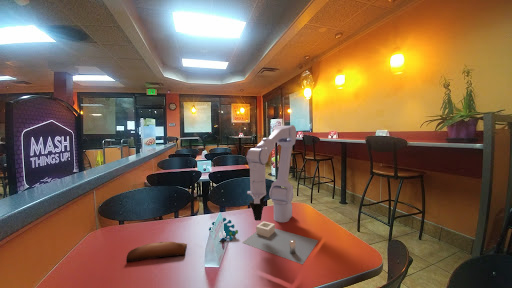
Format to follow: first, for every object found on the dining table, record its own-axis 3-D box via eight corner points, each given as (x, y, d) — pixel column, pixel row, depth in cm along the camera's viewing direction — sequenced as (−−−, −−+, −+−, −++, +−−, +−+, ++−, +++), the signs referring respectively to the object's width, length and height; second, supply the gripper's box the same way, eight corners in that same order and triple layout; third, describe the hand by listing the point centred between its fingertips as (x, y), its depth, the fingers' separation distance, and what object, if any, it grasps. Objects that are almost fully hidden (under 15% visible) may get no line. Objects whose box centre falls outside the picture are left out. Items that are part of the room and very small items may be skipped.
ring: (263, 228, 85) (263, 221, 85) (274, 231, 82) (274, 224, 82) (256, 233, 81) (256, 226, 81) (268, 237, 78) (268, 229, 78)
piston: (290, 250, 69) (290, 238, 69) (296, 252, 68) (296, 240, 68) (288, 253, 67) (288, 241, 67) (294, 255, 66) (294, 243, 66)
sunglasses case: (188, 242, 76) (186, 232, 73) (186, 262, 71) (184, 251, 67) (136, 248, 73) (131, 237, 69) (129, 269, 67) (124, 258, 64)
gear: (204, 241, 74) (212, 215, 81) (207, 246, 78) (214, 220, 85) (235, 246, 73) (240, 219, 80) (235, 251, 78) (240, 224, 84)
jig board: (264, 227, 88) (264, 225, 88) (318, 243, 75) (318, 240, 75) (241, 245, 74) (241, 242, 74) (302, 267, 62) (302, 264, 62)
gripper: (249, 175, 84) (249, 208, 85) (244, 185, 69) (245, 224, 70) (266, 175, 83) (267, 208, 84) (265, 185, 69) (266, 224, 70)
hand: (258, 215), depth 77 cm, fingers open, 7 cm apart
